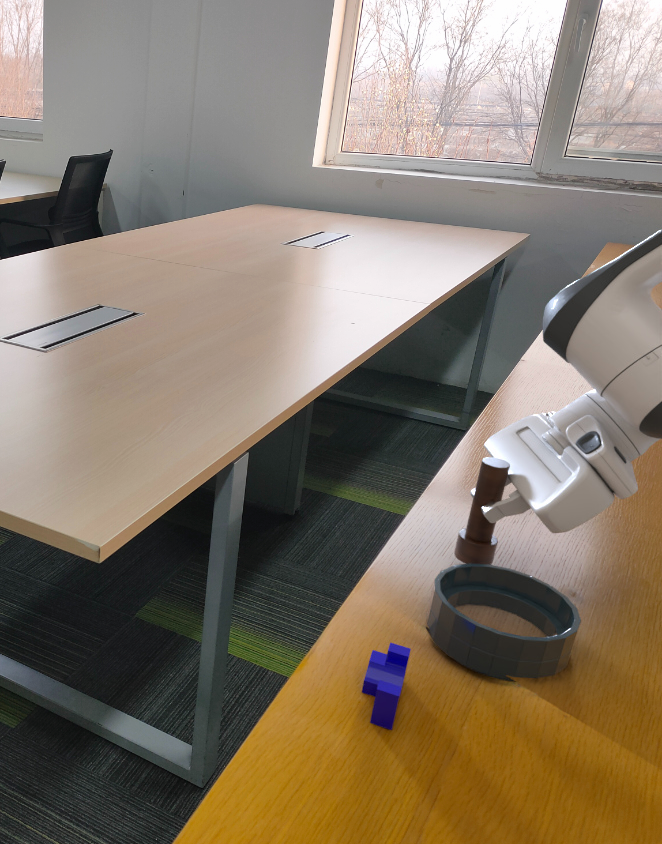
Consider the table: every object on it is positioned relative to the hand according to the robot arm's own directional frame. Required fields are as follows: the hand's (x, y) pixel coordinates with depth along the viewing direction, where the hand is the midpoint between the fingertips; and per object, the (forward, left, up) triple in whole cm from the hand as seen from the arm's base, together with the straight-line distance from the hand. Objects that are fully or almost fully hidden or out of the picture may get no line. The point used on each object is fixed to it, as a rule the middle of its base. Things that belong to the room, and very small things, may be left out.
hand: (479, 508), depth 96 cm
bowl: (-10, +9, -10) cm, 17 cm away
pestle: (0, -1, -7) cm, 7 cm away
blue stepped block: (-9, +27, -10) cm, 30 cm away
